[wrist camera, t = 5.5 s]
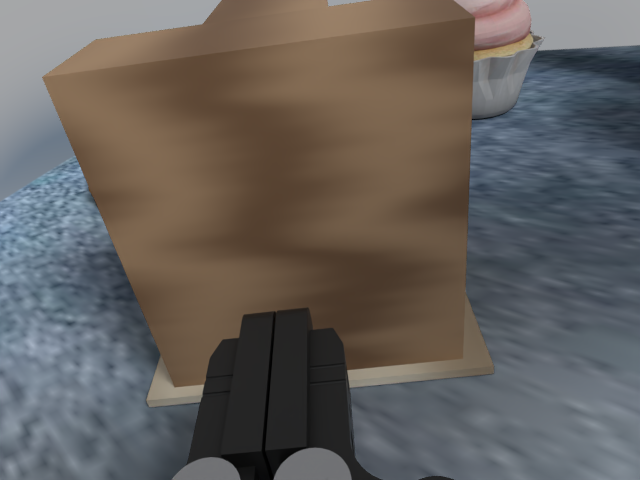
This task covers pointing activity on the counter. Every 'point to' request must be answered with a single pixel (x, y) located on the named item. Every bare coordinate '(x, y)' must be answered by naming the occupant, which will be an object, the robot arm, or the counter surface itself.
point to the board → (359, 370)
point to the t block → (285, 172)
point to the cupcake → (500, 53)
